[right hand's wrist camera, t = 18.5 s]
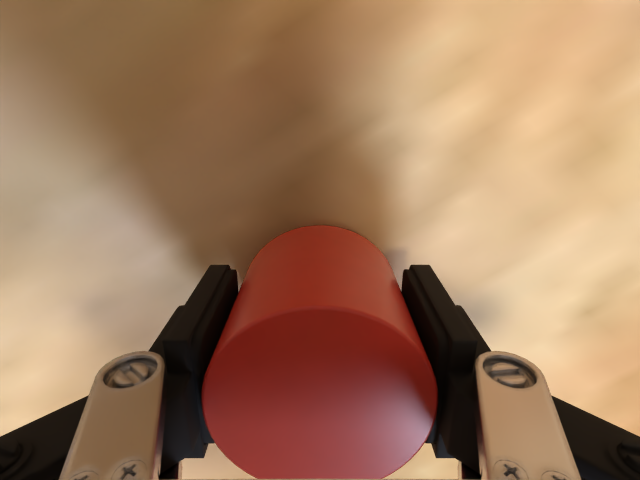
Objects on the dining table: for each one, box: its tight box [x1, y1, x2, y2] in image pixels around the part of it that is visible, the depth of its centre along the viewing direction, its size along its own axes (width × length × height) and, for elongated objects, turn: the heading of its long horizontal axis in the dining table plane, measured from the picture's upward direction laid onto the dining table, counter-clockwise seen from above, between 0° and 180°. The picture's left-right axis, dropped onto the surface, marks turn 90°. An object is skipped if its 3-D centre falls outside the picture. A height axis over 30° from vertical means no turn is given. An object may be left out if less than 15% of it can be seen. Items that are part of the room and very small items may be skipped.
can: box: [201, 225, 438, 479], centre depth 10 cm, size 5×5×5 cm
